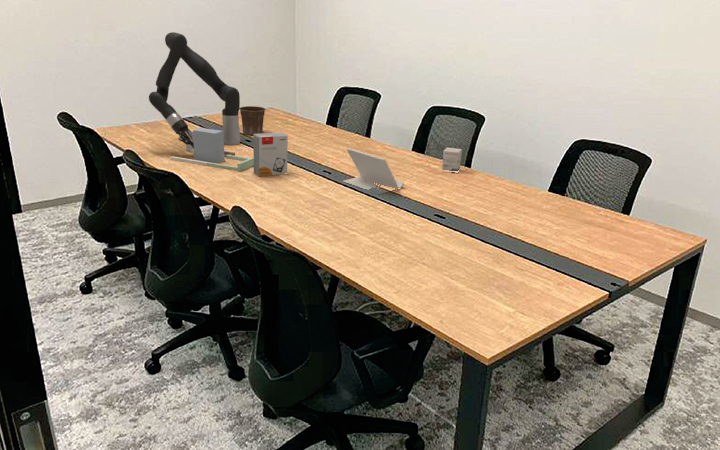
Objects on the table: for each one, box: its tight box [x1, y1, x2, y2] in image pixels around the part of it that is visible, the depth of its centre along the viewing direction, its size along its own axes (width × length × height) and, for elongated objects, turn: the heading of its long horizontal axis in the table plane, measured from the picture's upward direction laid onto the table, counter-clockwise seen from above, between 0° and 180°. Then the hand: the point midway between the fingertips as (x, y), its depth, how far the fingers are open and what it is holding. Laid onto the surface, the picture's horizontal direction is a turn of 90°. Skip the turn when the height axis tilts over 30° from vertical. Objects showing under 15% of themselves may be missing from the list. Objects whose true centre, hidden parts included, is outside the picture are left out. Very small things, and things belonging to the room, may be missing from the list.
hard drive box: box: [252, 132, 289, 177], centre depth 290 cm, size 16×8×20 cm, turn 117°
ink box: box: [441, 147, 463, 171], centre depth 309 cm, size 9×8×12 cm
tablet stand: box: [342, 147, 405, 190], centre depth 280 cm, size 18×25×17 cm
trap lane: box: [169, 149, 254, 173], centre depth 311 cm, size 26×44×4 cm, turn 68°
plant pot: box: [239, 105, 266, 136], centre depth 370 cm, size 16×16×16 cm
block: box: [192, 127, 225, 164], centre depth 308 cm, size 7×14×16 cm, turn 68°
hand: (197, 148), depth 311 cm, fingers closed
